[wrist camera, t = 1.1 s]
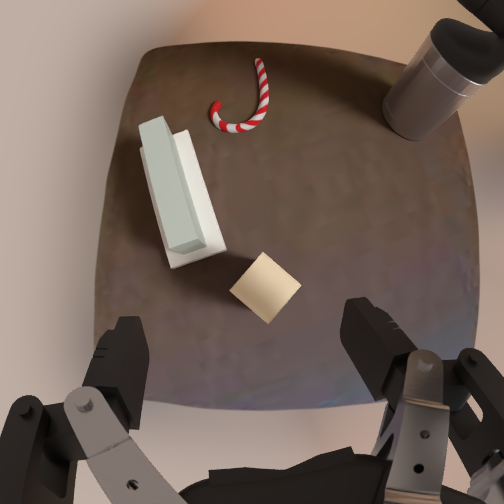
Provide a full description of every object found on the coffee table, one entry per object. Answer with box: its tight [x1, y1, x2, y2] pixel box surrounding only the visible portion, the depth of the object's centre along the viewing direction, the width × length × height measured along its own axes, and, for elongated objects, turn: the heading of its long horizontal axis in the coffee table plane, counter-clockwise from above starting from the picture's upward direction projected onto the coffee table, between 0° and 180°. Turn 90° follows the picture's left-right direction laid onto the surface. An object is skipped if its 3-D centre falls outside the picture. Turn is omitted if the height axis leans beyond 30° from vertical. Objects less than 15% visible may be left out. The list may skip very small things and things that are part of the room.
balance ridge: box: [139, 116, 227, 269], centre depth 33 cm, size 7×17×8 cm, turn 19°
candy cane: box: [210, 58, 269, 133], centre depth 38 cm, size 8×1×15 cm
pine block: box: [229, 252, 301, 323], centre depth 31 cm, size 4×4×10 cm
